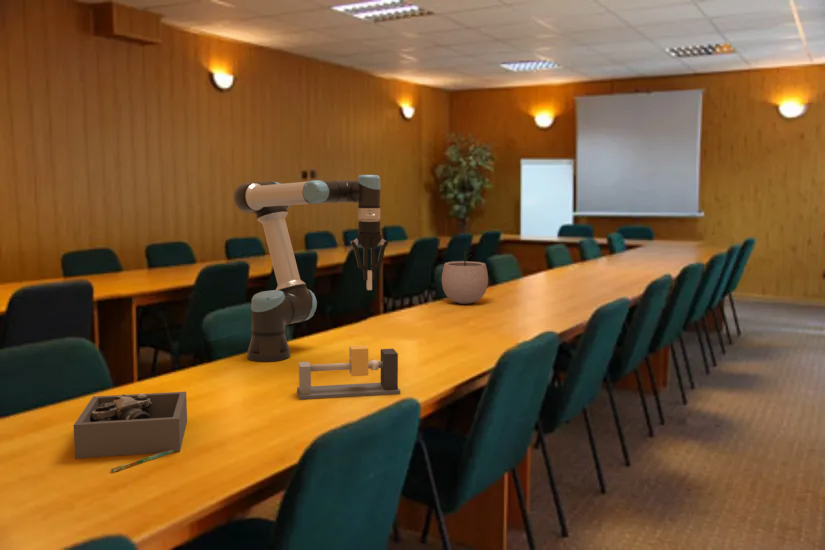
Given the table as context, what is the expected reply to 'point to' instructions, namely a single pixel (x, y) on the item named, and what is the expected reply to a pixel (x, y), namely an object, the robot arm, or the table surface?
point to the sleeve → (358, 360)
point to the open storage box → (133, 428)
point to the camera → (123, 409)
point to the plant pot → (464, 280)
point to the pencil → (141, 460)
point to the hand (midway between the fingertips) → (369, 289)
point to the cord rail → (351, 390)
